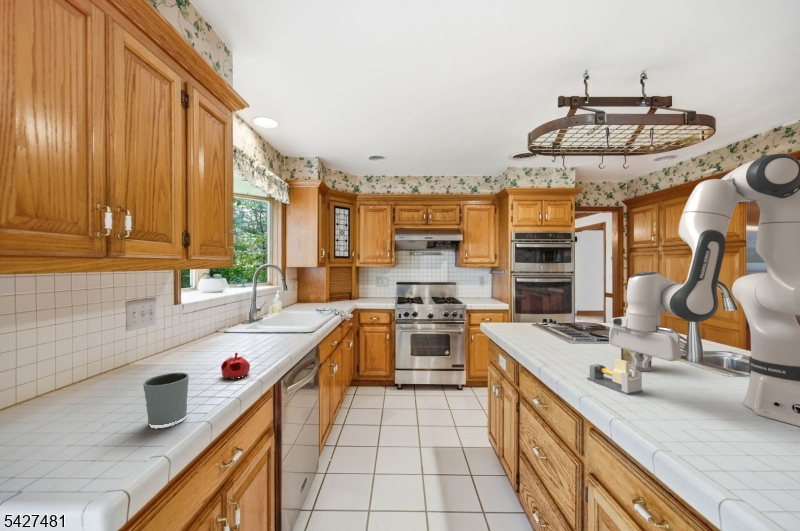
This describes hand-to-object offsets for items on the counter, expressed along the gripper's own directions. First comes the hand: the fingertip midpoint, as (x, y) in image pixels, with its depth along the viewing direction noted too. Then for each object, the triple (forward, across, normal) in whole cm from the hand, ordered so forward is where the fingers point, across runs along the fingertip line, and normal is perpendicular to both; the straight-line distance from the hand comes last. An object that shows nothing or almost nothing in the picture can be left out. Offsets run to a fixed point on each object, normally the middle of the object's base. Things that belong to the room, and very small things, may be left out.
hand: (641, 367), depth 104 cm
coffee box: (+9, +21, -27) cm, 35 cm away
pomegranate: (+14, +65, +125) cm, 142 cm away
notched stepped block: (+7, +7, -1) cm, 10 cm away
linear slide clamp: (+10, +10, -1) cm, 14 cm away
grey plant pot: (+13, +31, +137) cm, 141 cm away
